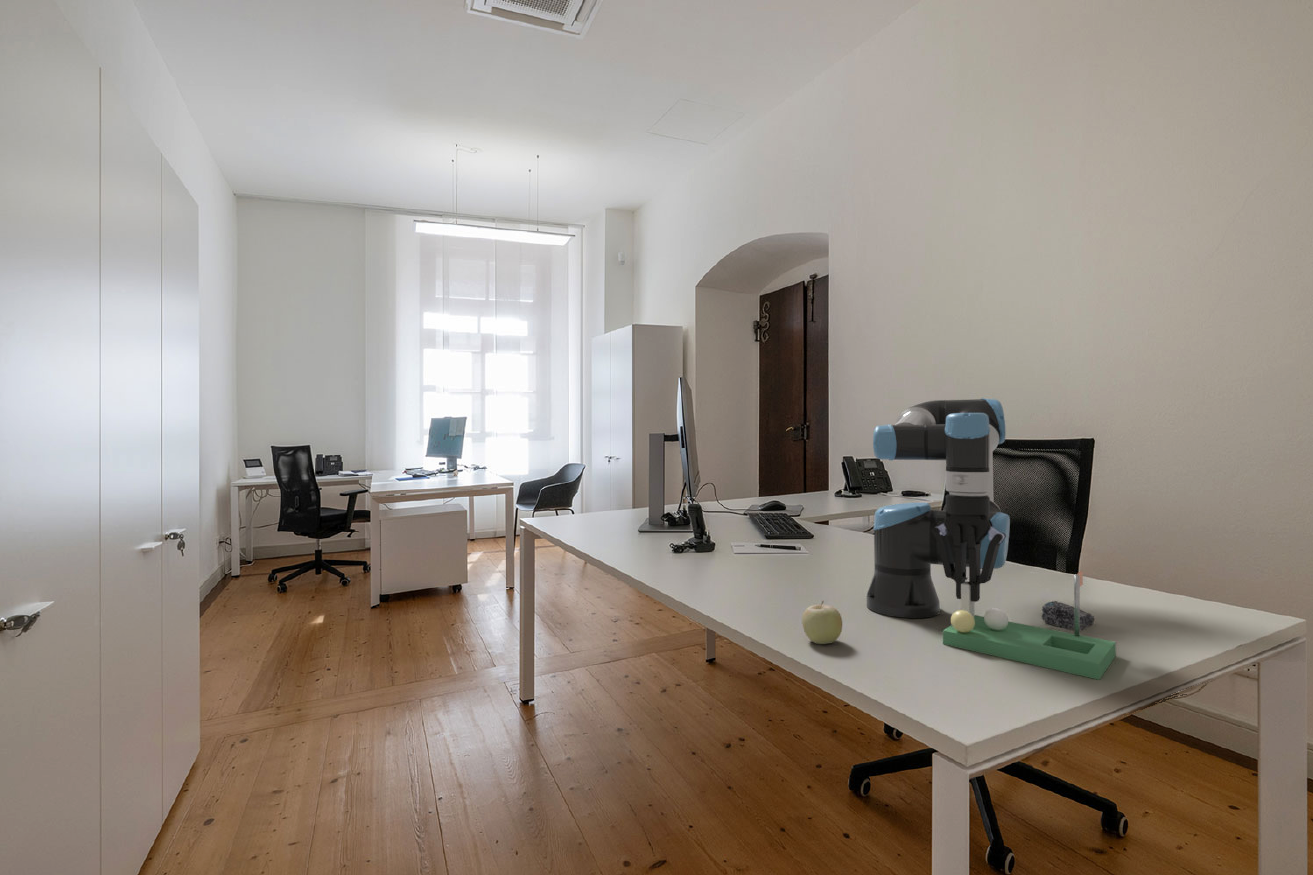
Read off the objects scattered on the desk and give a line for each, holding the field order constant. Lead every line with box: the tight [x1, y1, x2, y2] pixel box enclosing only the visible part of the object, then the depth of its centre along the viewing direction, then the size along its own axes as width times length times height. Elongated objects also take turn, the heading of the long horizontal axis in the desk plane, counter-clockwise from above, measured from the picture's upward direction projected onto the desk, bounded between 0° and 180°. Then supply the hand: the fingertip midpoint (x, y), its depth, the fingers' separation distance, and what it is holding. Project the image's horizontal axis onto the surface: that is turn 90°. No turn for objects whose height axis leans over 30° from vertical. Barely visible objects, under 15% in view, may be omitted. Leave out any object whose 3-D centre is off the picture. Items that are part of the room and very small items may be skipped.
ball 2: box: [983, 607, 1009, 630], centre depth 115 cm, size 4×4×4 cm
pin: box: [1073, 570, 1084, 637], centre depth 113 cm, size 1×4×11 cm, turn 135°
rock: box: [1041, 600, 1095, 631], centre depth 127 cm, size 8×10×4 cm
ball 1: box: [950, 609, 975, 633], centre depth 114 cm, size 4×4×4 cm
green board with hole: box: [942, 614, 1117, 681], centre depth 112 cm, size 24×14×2 cm, turn 45°
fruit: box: [801, 600, 843, 645], centre depth 118 cm, size 8×7×8 cm
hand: (967, 617), depth 119 cm, fingers closed
